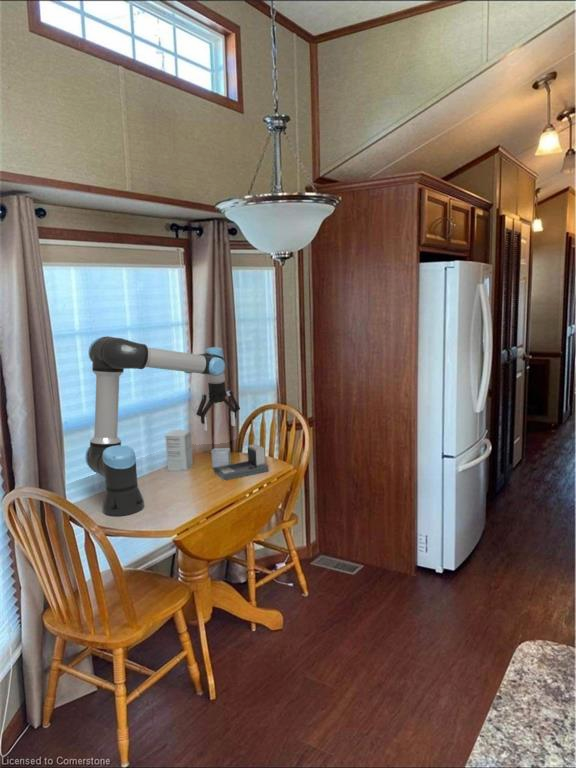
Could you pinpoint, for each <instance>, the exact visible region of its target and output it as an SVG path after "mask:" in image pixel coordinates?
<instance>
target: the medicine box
mask: <svg viewBox="0 0 576 768" xmlns="http://www.w3.org/2000/svg"><path fill="white" fill-rule="evenodd" d="M210 453H211V466H212V468H214V467H219V466H224V465H229V464H232V463H231V462H232V461H231V458H232V457H231V448H229V447H227V448H226V447H224V448H223V447H221V448H218V447H216V448H213V449H212V450H211V452H210Z"/></svg>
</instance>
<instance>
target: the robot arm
mask: <svg viewBox="0 0 576 768" xmlns="http://www.w3.org/2000/svg"><path fill="white" fill-rule="evenodd" d="M88 356H89V357H88V358H89V359H90V361H91V362H92V366H91V367H92V369H91V370H92V373H94V374H95V376H96V379H95V405H94V406H95V407H94V408H95V410H94V411H95V412H94V436H93V437H92V438H91V439H90V441H89V447H88V448H87V450H86V452H85V457H84V458H85V463H86V465H87V466H88V468H90V470H91V471H93V472H94V473H96V474H99V475H100V476H102V477H104V484H105V495H104V498H103V503H102V512H103V514H104V515H106V516H111V517H123V516H129V515H132V514H135V513H138V512H139V511H142V510H143V509H144V507H145V500H144V497H143V496H142V493H141V491H140V488H139V485H138V473H137V472H138V471H137V458H136V457H137V456H136V454H135V450H134V449H133V448H132V447H130V446H128V445H122V440H121V439H120V438H119V436H118V425H119V424H118V422H119V400H120V399H119V397H120V396H119V394H120V376H121V375H122V374H124V371H125V370H124V369H134V370H135V369H136V370H144V369H145V368H148V369H149V368H151V369H160V370H169V371H176V372H183V373H186V374H193V373H194V374H201V375H202V374H203V375H207V382H208V384H207V385H208V393H207V394H206V393H205V394H204V393H203V394H202V395H201V399H200V400H201V401H200V402H199V406H198V408H197V410H196V414H195V416H197V417H200V423H201V425H202V426H203V429H202V430H203V431H204V432H207V431H208V422H207V420H208V419H207V416H206V415H207V413H208V412H209V410H210V408H211V407H212V406H213V405H214V403H215V404H217V403H224V404H225V405H226V406H227V407H228V408H229V409H230V410H231V411H230V422H231V426H232V427H236V419H237V412H238V411H239V410H240V409H241V407H240V406H239V403H238V402H237V400H236V398H235V396H234V394H233V391H231V390H227V391H226V382H225V381H226V377H225V376H226V374H225V370H226V363H225V361H224V360H225V356H224V350H223V348H222V347H220V346H218V347H216V346H214V347H208V348H205V353H199V354H195V353H188V352H182V351H181V352H180V351H175V350H168V349H161V348H154V347H149V346H147V344H145V343H139V342H135V341H133V340H132V341H131V340H128V339H124V338H121V337H113V336H108V335H107V336H100V337H97V338H96V339H95V340H93V341H92V342H91V343H90V345H89V348H88ZM227 396H228V398H229V400H230V401H231V403H230V402H229V401H228V399H227V398H226V397H227ZM208 398H209V400H208ZM207 400H208V401H207ZM206 403H207V404H206Z"/></svg>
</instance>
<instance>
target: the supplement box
mask: <svg viewBox="0 0 576 768" xmlns="http://www.w3.org/2000/svg"><path fill="white" fill-rule="evenodd" d="M191 433H192V432H191V430H190V429H189V430H186V429H184V430H183V429H182V430H179V429H175V430H174V429H173V430H171V431H170V432H168V433H167V434H166V435H164V437H165V439H164V440H165V449H166V460H167V461H166V463H167V471H169V472H172V471H173V472H175V471H178V472H187V471H188V470H190V468H191V467H192V466H193V465H194V464H193V463H194V462H193V461H194V460H193V449H192V434H191ZM186 470H187V471H186Z"/></svg>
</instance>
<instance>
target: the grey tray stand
mask: <svg viewBox="0 0 576 768" xmlns="http://www.w3.org/2000/svg"><path fill="white" fill-rule="evenodd" d="M247 446H248V447H247V459H248V460H246V461H241V462H235V463H231V464H229V465H224V466H219V467H214V469H213V473H215V475H216V474H217V475H218V476H219V477H218V476H217V475H216V476H217V477H218V478H220V477H221V478H222V479H221V478H220V479H221V480H223V481H224V480H226V481H229V480H228V479H231V480H234V479H233V478H236V479H239V478H238V477H240V478H243V476H245V477H249V475H250V476H254V475H259V474H264V473H267V472H269V466H268V465H267V464H265V463H266V461H265V460H266V459H265V447H263V446H261V445H259V444H257V443H254V444H249V445H247Z"/></svg>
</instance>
